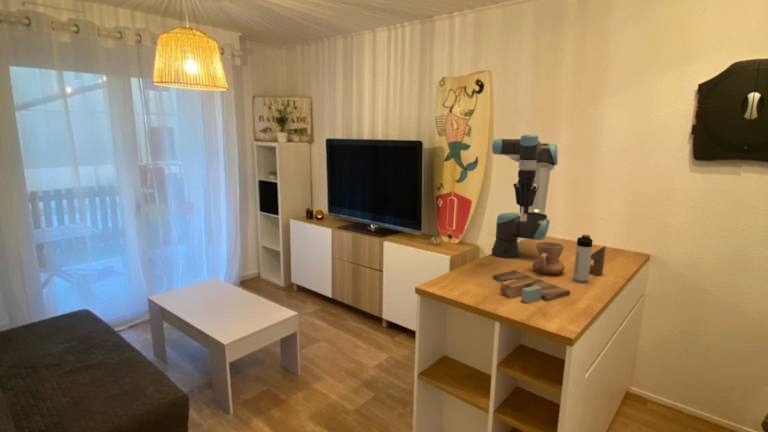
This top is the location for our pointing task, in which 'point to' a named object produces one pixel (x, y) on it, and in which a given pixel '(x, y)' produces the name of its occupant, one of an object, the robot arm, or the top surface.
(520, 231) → the robot arm
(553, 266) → the ceramic jug
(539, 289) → the block
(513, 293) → the brown wooden handled block
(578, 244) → the travel mug
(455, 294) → the top surface
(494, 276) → the board
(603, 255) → the wooden block
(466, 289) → the top surface
